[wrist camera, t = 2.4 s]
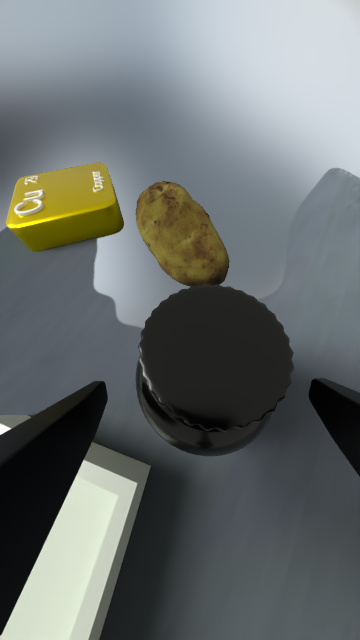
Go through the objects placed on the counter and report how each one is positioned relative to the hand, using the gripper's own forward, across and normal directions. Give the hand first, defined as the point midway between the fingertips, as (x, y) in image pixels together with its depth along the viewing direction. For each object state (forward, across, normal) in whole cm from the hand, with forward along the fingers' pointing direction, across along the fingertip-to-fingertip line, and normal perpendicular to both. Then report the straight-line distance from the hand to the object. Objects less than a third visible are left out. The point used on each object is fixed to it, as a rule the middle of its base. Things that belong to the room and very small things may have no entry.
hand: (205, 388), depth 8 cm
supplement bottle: (+7, 0, +6) cm, 9 cm away
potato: (+18, +1, -5) cm, 19 cm away
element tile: (+28, +19, -14) cm, 37 cm away
